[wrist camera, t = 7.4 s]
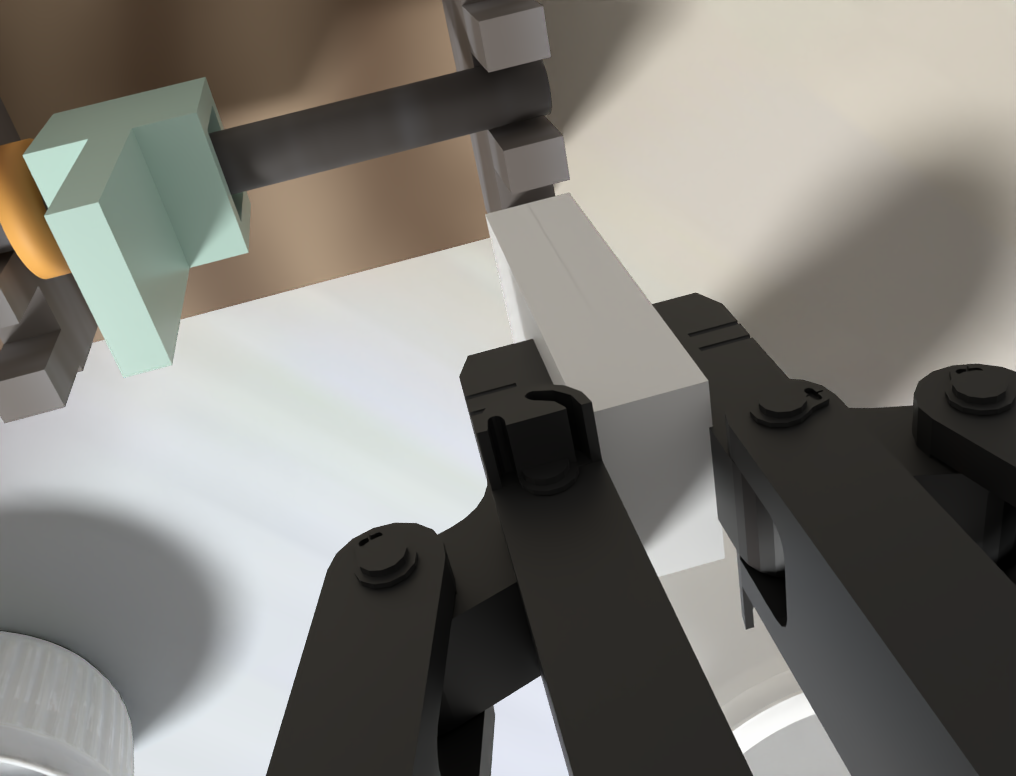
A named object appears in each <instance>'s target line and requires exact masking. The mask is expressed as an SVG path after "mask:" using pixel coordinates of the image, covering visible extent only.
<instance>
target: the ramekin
mask: <svg viewBox="0 0 1016 776" xmlns="http://www.w3.org/2000/svg"><path fill="white" fill-rule="evenodd" d="M0 776H134V748H133V736H132V725H131V721H130V718H129V715H128V712H127V708H126V706H125V704H124V702H123V701H122V700H121V697H120V695H119V693H118V691H117V690H116V689H115V688H114V687H113V686H112V685H111V683H110V681H109V680H108V679H107V678H106V677H104V676H103V675H102V674H101V673H100V672H99V671H98V670H97V669H96V668H95V667H93V666H92V665H91V664H90V663H88V662H87V661H86V660H85V659H83V658H82V657H80V656H79V655H77V654H75V653H74V652H72V651H70V650H68V649H66V648H64V647H61V646H59V645H56V644H54V643H51V642H49V641H45V640H42V639H39V638H35V637H32V636H27V635H22V634H17V633H10V632H3V631H0Z"/></svg>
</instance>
